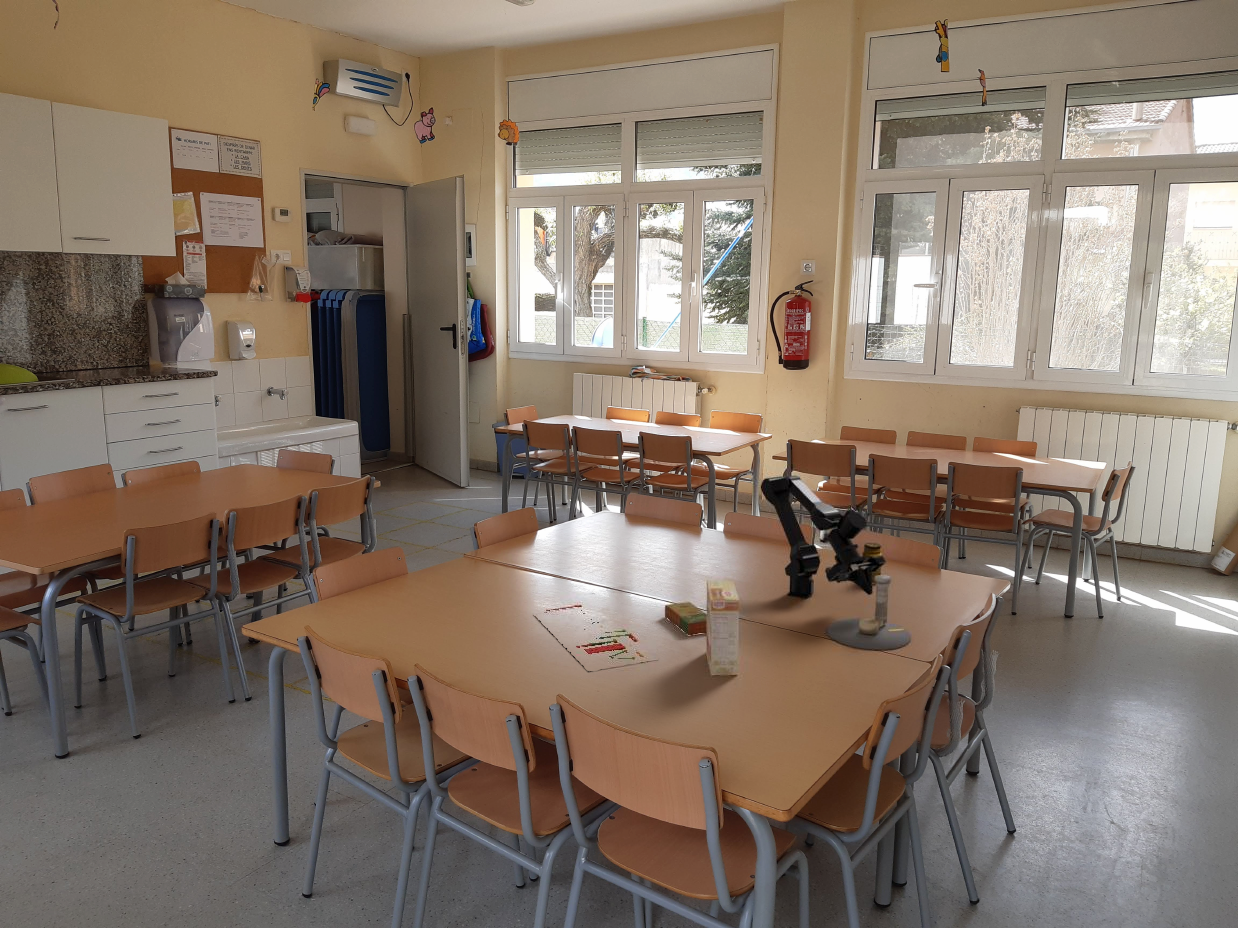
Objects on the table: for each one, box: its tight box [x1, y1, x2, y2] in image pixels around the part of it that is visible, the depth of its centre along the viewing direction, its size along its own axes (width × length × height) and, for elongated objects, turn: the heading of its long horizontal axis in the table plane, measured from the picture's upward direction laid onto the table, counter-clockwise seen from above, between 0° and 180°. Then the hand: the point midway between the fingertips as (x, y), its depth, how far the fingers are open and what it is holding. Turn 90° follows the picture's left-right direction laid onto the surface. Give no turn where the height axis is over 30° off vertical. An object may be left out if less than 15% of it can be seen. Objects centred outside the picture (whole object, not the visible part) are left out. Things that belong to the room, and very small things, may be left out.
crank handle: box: [859, 574, 892, 634], centre depth 244 cm, size 13×5×13 cm, turn 140°
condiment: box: [862, 542, 883, 585], centre depth 289 cm, size 7×8×12 cm
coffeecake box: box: [705, 579, 740, 676], centre depth 222 cm, size 15×7×20 cm, turn 178°
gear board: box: [545, 604, 644, 660], centre depth 243 cm, size 45×2×19 cm
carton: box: [664, 601, 707, 635], centre depth 251 cm, size 8×16×4 cm, turn 21°
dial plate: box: [826, 617, 912, 651], centre depth 242 cm, size 22×22×1 cm
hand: (870, 594), depth 251 cm, fingers closed
